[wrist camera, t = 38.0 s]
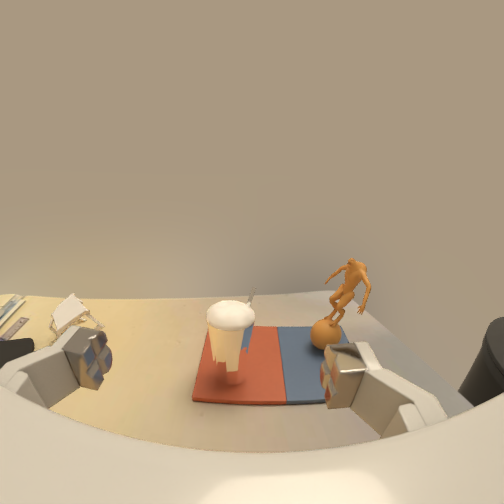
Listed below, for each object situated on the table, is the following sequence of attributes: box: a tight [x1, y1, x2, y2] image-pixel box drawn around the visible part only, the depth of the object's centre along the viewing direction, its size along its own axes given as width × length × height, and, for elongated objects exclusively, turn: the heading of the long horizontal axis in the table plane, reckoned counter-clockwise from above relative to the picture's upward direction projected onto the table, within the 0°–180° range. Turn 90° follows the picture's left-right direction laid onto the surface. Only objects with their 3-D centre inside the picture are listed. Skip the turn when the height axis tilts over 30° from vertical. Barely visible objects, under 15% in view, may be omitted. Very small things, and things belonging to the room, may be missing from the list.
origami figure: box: [49, 293, 105, 340], centre depth 31 cm, size 12×8×5 cm
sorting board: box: [192, 326, 349, 404], centre depth 31 cm, size 19×14×1 cm
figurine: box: [310, 258, 371, 350], centre depth 31 cm, size 8×6×12 cm
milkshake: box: [206, 287, 256, 386], centre depth 26 cm, size 4×5×10 cm
